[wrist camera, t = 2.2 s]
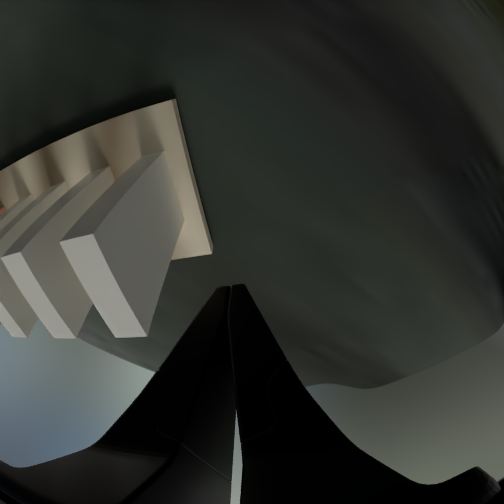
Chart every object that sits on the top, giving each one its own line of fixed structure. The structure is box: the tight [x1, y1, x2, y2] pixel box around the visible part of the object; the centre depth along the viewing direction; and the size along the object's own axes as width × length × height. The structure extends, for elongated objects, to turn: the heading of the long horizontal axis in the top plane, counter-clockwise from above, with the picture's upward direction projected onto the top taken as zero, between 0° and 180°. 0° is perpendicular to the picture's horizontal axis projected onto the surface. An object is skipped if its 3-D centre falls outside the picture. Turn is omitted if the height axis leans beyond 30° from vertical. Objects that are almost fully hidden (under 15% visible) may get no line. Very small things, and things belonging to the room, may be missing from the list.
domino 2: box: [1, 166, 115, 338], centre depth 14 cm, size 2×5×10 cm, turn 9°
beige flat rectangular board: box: [0, 99, 213, 260], centre depth 19 cm, size 22×11×1 cm, turn 99°
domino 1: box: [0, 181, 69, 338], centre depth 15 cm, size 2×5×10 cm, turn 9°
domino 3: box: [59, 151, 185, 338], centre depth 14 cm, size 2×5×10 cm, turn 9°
